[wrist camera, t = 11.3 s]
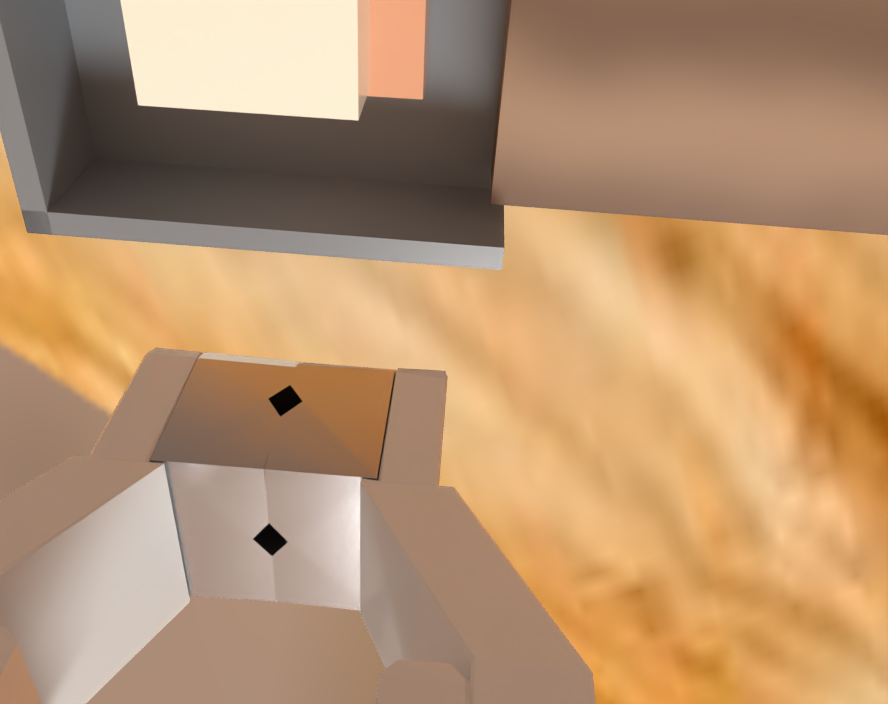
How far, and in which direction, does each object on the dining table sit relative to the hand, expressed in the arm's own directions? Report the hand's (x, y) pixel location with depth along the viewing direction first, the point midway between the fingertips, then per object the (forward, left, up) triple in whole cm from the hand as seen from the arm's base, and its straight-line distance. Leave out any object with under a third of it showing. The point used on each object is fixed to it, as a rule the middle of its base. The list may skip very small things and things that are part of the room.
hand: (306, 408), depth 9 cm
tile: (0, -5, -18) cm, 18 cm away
